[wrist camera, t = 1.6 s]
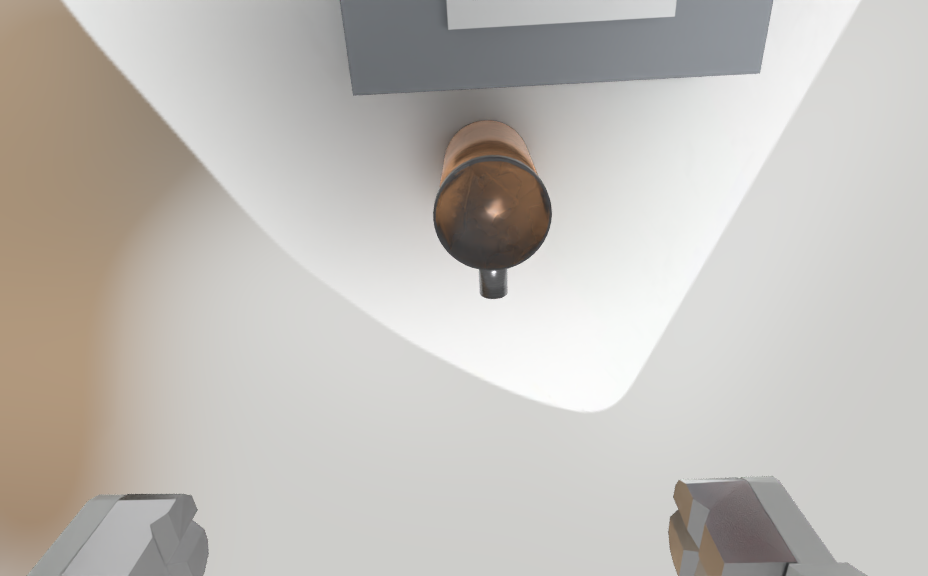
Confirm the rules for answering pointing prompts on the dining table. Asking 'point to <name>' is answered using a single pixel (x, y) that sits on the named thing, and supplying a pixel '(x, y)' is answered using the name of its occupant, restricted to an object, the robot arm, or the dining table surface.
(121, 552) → the robot arm
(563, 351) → the dining table surface
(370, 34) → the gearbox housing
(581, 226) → the dining table surface
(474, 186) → the spout can
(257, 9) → the dining table surface
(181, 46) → the dining table surface
